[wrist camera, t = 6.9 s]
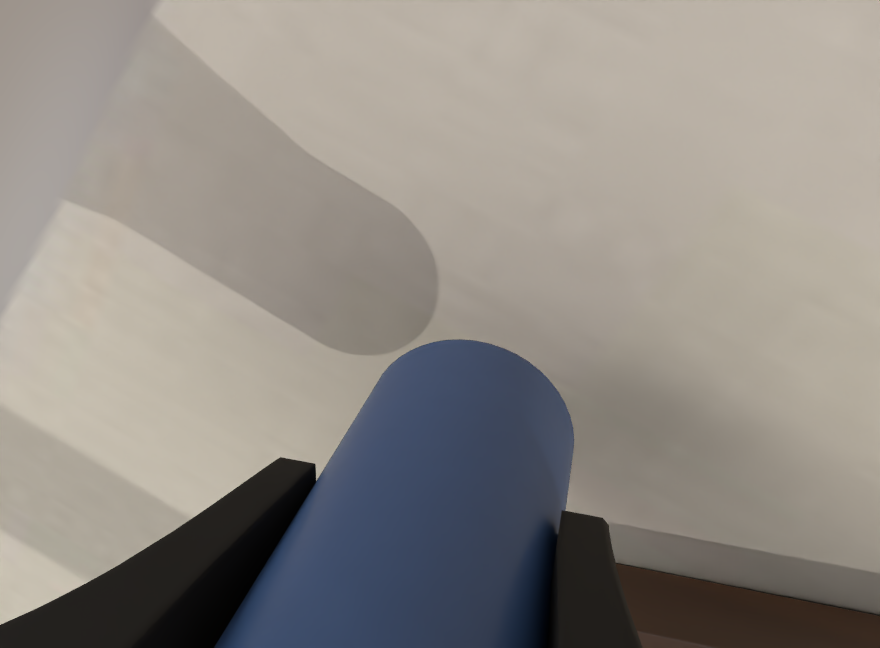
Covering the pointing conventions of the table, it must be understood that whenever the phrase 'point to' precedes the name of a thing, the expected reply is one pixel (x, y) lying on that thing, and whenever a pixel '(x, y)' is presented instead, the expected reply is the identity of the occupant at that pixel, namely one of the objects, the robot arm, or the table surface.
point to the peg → (426, 515)
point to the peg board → (735, 616)
